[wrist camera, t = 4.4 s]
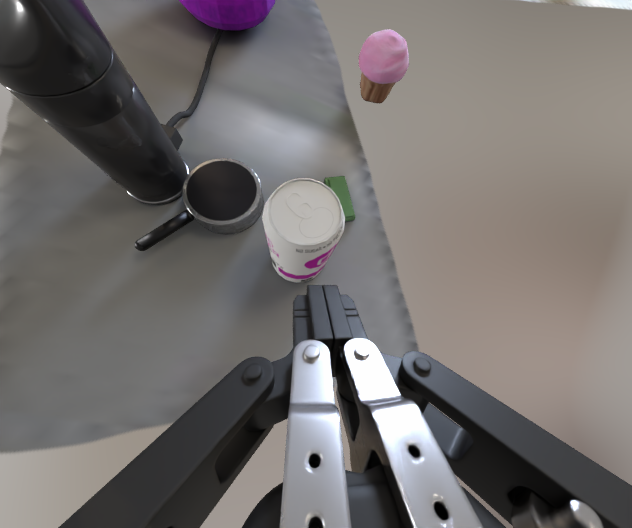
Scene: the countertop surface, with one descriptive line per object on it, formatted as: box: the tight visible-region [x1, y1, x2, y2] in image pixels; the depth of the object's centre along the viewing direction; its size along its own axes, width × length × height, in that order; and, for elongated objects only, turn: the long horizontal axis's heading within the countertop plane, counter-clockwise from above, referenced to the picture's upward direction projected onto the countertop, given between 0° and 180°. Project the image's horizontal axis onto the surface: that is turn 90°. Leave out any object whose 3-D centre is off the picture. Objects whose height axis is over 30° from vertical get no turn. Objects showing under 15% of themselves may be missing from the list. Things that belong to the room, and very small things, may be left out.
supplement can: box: [262, 178, 345, 283], centre depth 29 cm, size 8×8×15 cm
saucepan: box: [135, 158, 263, 251], centre depth 34 cm, size 19×11×4 cm, turn 132°
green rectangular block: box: [324, 176, 355, 221], centre depth 39 cm, size 8×4×1 cm, turn 12°
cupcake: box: [359, 29, 409, 103], centre depth 42 cm, size 9×9×10 cm
